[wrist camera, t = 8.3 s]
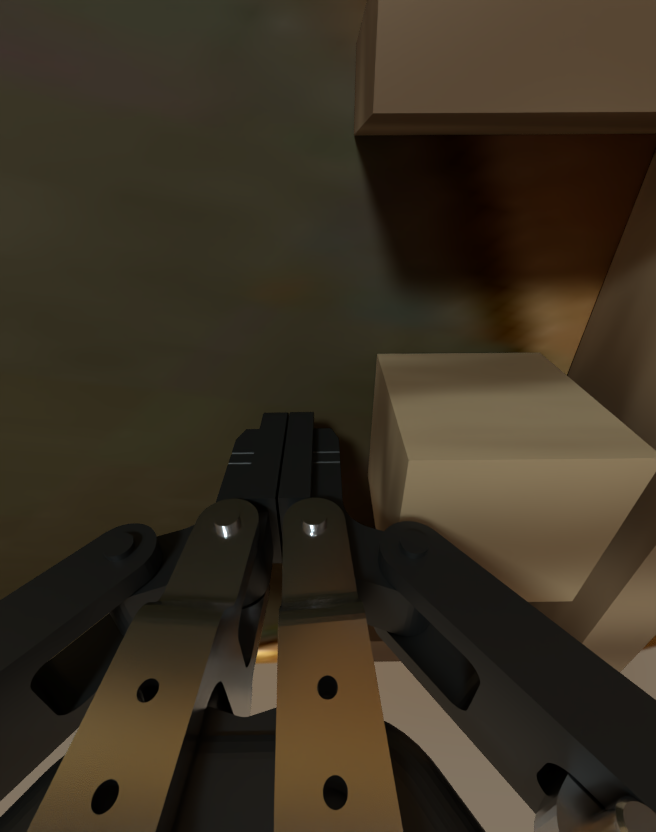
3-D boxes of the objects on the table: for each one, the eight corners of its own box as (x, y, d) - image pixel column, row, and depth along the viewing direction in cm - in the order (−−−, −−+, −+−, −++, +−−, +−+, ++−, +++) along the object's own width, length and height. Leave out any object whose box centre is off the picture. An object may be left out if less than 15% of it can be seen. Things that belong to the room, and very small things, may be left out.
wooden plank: (360, -140, 6) (430, -726, 2) (885, -142, 6) (1938, -724, 2) (341, 594, 19) (346, 717, 14) (522, 592, 19) (579, 714, 14)
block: (377, 353, 11) (408, 460, 7) (539, 352, 11) (664, 458, 7) (367, 475, 14) (386, 603, 10) (498, 474, 14) (572, 601, 10)
